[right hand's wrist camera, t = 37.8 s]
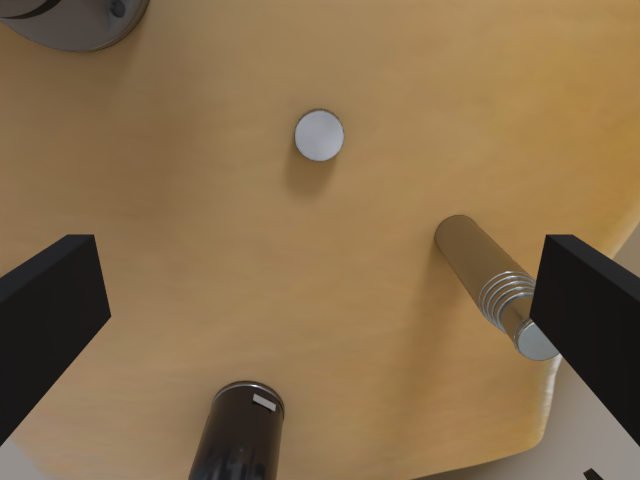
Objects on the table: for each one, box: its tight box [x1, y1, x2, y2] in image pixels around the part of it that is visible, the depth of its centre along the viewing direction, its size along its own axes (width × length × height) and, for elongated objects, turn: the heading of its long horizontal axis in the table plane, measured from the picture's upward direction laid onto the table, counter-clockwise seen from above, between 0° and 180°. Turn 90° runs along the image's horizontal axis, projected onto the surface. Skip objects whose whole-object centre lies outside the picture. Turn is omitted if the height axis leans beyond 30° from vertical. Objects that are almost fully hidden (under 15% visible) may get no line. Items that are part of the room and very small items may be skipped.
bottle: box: [435, 215, 559, 361], centre depth 37 cm, size 5×5×19 cm
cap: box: [294, 108, 344, 161], centre depth 41 cm, size 5×5×3 cm
